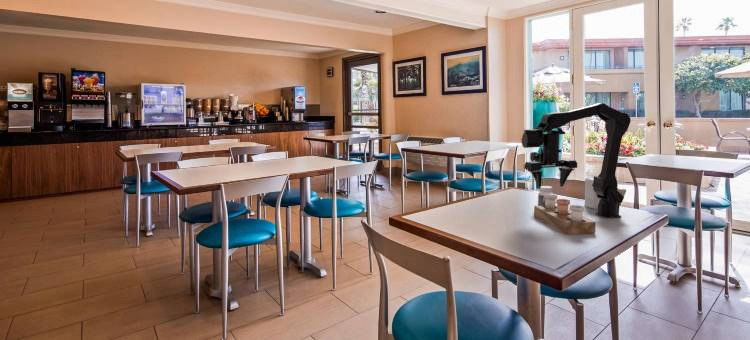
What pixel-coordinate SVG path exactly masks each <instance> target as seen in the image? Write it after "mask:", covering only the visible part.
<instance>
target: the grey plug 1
mask: <svg viewBox="0 0 750 340" xmlns="http://www.w3.org/2000/svg"><path fill="white" fill-rule="evenodd" d="M544 198H546V201H545V208H546V209H555V205H557V204H556V200H557V199H558V194H555V193H553V194H544Z"/></svg>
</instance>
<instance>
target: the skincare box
mask: <svg viewBox="0 0 750 340" xmlns="http://www.w3.org/2000/svg"><path fill="white" fill-rule="evenodd" d="M593 181H594V177H589V178H585V179H584V207H587V208H590V209H594V210H598V203H599V199H600V198H598V197H597V194H596V193H595V192H594V190H593V186H592V184H593Z"/></svg>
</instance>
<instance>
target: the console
mask: <svg viewBox="0 0 750 340" xmlns="http://www.w3.org/2000/svg"><path fill="white" fill-rule="evenodd" d="M533 206H534V208H533V217H535V218H537V219H538V220H540V221H543V222H544V223H546V224H547V225H549V226H551V227H553V228H554V229H556V230H557V231H558V232H560V233H562V234H564V235H591V234H593V235H594V234H596V225H597V224H596V223H597V222H596V221H594V220H592V219H590V218H588V217H586V216H584V215H583V216H582V222H571V221H570V220H571V210H570V209H569V208H568V215H558V214H557V204H556V205H555V209H546V208H545V206H538V205H533Z"/></svg>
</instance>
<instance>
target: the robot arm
mask: <svg viewBox="0 0 750 340" xmlns="http://www.w3.org/2000/svg"><path fill="white" fill-rule="evenodd" d="M593 116H597V117H598V118H599V119H600V120H602V121H603V122H604V130H605V132H606V141H605V148H604V149H605V150H604V154H603V157H602V158H603V159H602V160H603V161H602V164H601V169H600V173H599V175H598V176H596V175H595V176H593V178H594V181H593V184H592V186H593V190H594V192H595V193H596V194H597V197H598V198H600V199H599V203H598V209H597V212H595V214H596V215H598V216H600V217H603V218H609V219H610V218H622V215H620V205H621V204H620V203H622V202H623V201H624V198H625V196H623V194H621V193H620V191H619V190H618V186H619V185H618V179H617V177H616V174H617V173H616V171H617V166H618V161H619V155H620V150H621V146H622V140H623V137H624V136H625V134H626V133H627V132H628V130H629V127H630V124H631V116H630V115H629V114H628V113H625V112H621V111H620V110H618V109H616V108H613V107H612V106H611V107H610V106H609V105H607V104H606V103H604V102H603V103H601V102H600V103H594V104H592V105H588V106H587V105H586V106H584V107H579V108H576V109H571V110H568V111H561V112H548V113H545V114H543V115H542V116H541V119H540V122H539V123H538V125H537V126H536V127H535V129H523V134H522V137H521V145H522V147H523V148H525V149H526V148H527V149H529V148H540V147H541V146H542V148H540V152H539V153H538V152H537V151H535V152H534V151H532V152H531V153H530V156H529V157H530V158H529V159H530V161H526V162H525V163H524V164H523V165H524V167H523V168H524V169H523V170H527V172H529V173H530V174H532V176H533V178H534V181H535V184H536V186H537V188H538V189H540V187H541V186H542V178H543V171H542V169H547V168H558V169H559V170H558V171H559V187H563V186H564V185H565V183H566V181H567V180H568V177H569V176H570V174H572V171H574V170H575V169H577V168H578V161H577V160H576V159H571V158H570V159H569V158H564V159H560V153H562V149H560V135H565V134H566V132H565V130H563V129H562V127H563V126H566V125H568V124H570V123H571V122H575V121H578V120H581V119H582V120H583V119H585V118H590V117H593Z"/></svg>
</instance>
